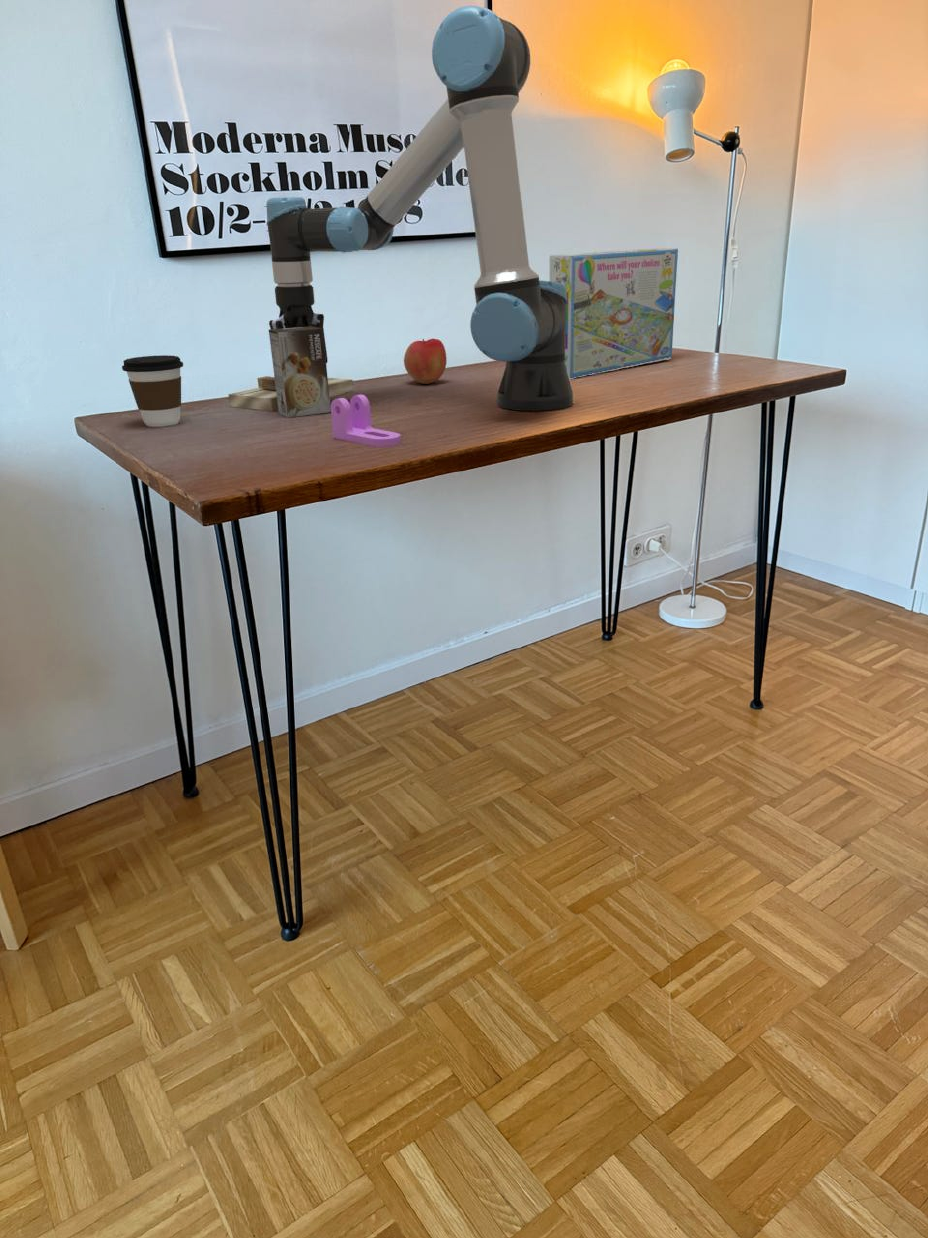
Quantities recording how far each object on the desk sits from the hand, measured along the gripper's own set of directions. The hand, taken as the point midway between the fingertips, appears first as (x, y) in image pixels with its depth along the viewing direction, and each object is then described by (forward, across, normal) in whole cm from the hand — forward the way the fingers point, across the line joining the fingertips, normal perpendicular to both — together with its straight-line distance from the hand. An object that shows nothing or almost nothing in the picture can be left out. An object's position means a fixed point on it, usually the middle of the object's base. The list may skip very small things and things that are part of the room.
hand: (305, 403), depth 179 cm
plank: (+1, -5, -8) cm, 9 cm away
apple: (+1, -34, +7) cm, 34 cm away
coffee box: (0, +7, +6) cm, 9 cm away
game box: (+1, -72, +37) cm, 81 cm away
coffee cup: (0, +27, -12) cm, 29 cm away
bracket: (0, +20, +33) cm, 39 cm away
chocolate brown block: (0, 0, -5) cm, 5 cm away
